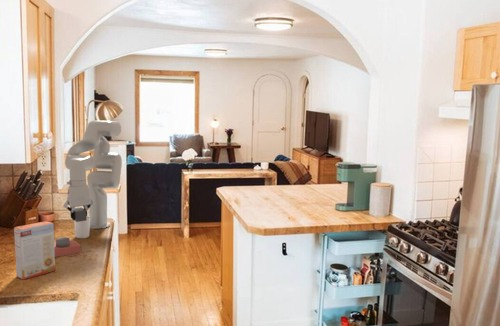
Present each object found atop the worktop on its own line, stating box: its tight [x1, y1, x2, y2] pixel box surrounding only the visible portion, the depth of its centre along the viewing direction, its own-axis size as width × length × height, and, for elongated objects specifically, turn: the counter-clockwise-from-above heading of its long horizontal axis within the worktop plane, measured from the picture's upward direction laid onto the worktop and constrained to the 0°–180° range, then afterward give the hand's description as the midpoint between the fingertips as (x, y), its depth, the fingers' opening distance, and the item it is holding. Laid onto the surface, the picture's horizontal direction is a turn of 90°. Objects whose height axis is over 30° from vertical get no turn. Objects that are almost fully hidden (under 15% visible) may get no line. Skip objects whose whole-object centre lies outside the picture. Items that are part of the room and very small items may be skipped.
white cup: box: [73, 215, 91, 239], centre depth 250 cm, size 8×8×10 cm
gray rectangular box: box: [74, 206, 88, 222], centre depth 238 cm, size 7×5×5 cm
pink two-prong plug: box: [54, 236, 82, 258], centre depth 227 cm, size 17×14×6 cm
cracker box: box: [13, 220, 56, 280], centre depth 196 cm, size 14×6×21 cm, turn 141°
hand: (79, 218), depth 239 cm, fingers closed on gray rectangular box, 5 cm apart
